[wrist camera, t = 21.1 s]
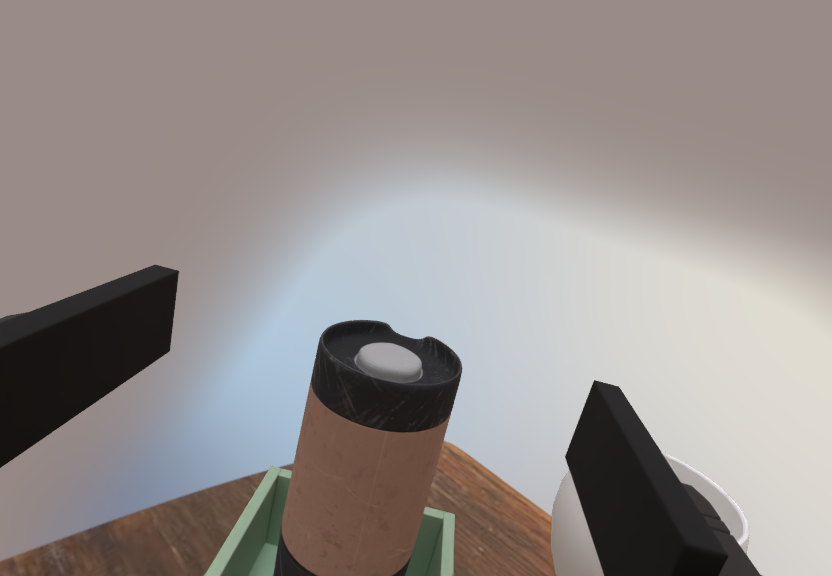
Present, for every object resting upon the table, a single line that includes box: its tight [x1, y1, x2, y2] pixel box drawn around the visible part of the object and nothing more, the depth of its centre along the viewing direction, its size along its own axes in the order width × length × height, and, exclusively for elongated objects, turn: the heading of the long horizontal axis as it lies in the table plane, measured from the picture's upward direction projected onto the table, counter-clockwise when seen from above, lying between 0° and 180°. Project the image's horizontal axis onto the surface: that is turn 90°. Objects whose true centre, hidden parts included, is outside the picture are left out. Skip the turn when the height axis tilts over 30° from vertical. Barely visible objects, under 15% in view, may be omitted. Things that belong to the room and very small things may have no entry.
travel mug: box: [273, 320, 462, 576], centre depth 29 cm, size 8×8×20 cm
